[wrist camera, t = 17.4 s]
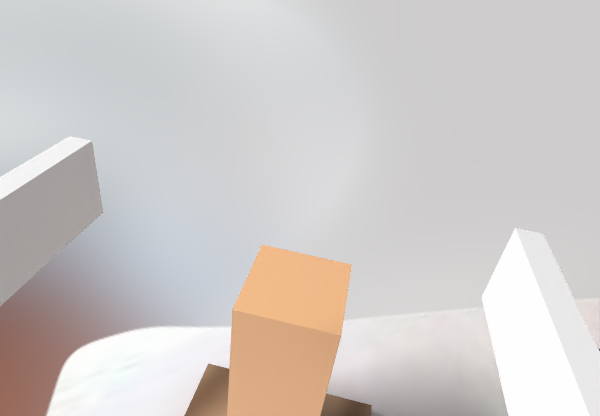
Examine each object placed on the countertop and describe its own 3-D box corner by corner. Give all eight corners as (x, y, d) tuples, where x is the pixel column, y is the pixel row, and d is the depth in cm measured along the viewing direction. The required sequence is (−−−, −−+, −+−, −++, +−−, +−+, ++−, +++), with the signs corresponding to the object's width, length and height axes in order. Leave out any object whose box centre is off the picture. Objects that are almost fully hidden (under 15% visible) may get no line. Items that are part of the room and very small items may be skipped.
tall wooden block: (247, 399, 39) (262, 244, 29) (313, 417, 38) (351, 264, 29) (224, 469, 34) (232, 309, 24) (300, 491, 33) (341, 335, 24)
